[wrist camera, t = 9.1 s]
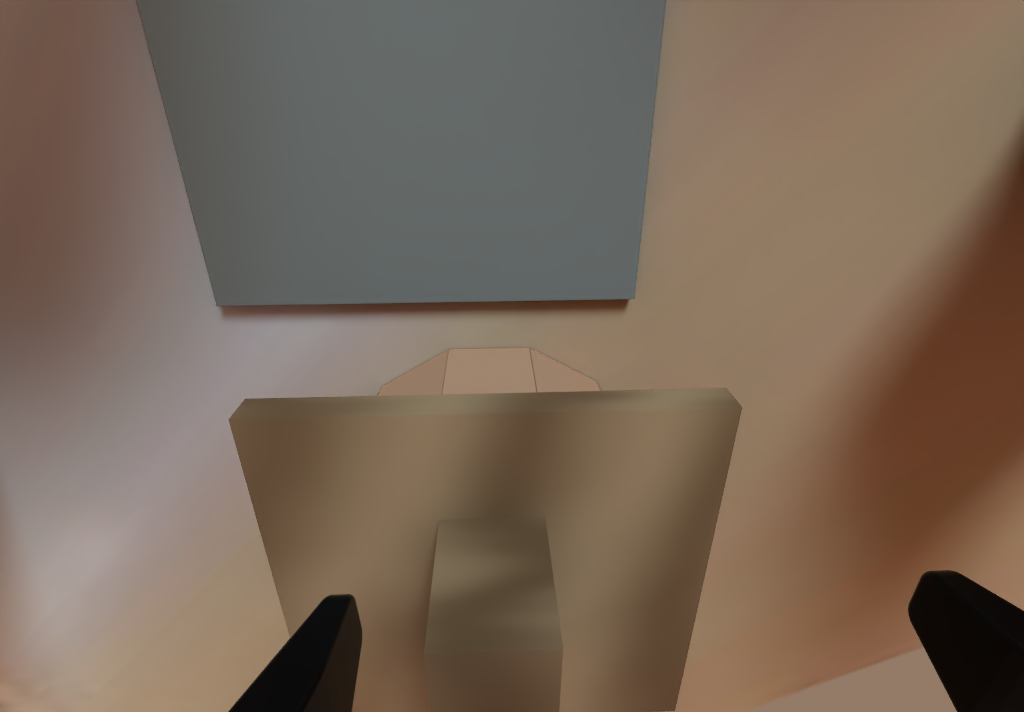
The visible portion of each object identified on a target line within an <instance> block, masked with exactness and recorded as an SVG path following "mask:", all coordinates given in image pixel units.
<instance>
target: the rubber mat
mask: <svg viewBox="0 0 1024 712" xmlns="http://www.w3.org/2000/svg"><path fill="white" fill-rule="evenodd" d="M136 3H137V6H138V10H139V14H140V18H141V21H142V25H143V29H144V33H145V37H146V40H147V44H148V48H149V52H150V55H151V59H152V63H153V67H154V71H155V74H156V78H157V82H158V86H159V89H160V93H161V97H162V101H163V105H164V108H165V112H166V116H167V120H168V123H169V127H170V131H171V135H172V138H173V142H174V146H175V150H176V154H177V157H178V161H179V165H180V169H181V172H182V176H183V180H184V184H185V188H186V191H187V195H188V199H189V203H190V206H191V210H192V214H193V218H194V222H195V225H196V229H197V233H198V237H199V240H200V244H201V248H202V252H203V256H204V259H205V263H206V267H207V271H208V274H209V278H210V282H211V286H212V290H213V293H214V297H215V301H216V305H217V306H245V305H304V304H364V303H424V302H483V301H543V300H602V299H634V298H635V289H636V279H637V270H638V260H639V251H640V241H641V232H642V222H643V213H644V203H645V194H646V184H647V175H648V165H649V156H650V146H651V137H652V127H653V118H654V108H655V99H656V89H657V80H658V70H659V61H660V51H661V41H662V32H663V22H664V13H665V3H666V0H136Z"/></svg>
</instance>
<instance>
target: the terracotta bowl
mask: <svg viewBox="0 0 1024 712" xmlns="http://www.w3.org/2000/svg"><path fill="white" fill-rule="evenodd" d="M576 391H602V390H601V388H600V387H599V385H598V383H597V382H596V381H594V380H592V379H591V378H589V377H587V376H585V375H583V374H581V373H579V372H577V371H575V370H573V369H571V368H569V367H567V366H565V365H563V364H561V363H559V362H557V361H555V360H553V359H551V358H549V357H547V356H545V355H543V354H541V353H539V352H537V351H535V350H533V349H531V348H530V349H529V348H489V349H449V350H446V351H445V352H443V353H441V354H439V355H437V356H436V357H434V358H432V359H430V360H428V361H427V362H425V363H423V364H421V365H419V366H418V367H416V368H414V369H412V370H410V371H409V372H407V373H405V374H403V375H401V376H400V377H398V378H396V379H394V380H392V381H391V382H389V383H387V384H385V385H384V386H382V387H381V389H380V391H379V393H378V395H377V396H398V395H443V394H487V393H531V392H576Z"/></svg>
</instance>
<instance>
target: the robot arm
mask: <svg viewBox="0 0 1024 712" xmlns="http://www.w3.org/2000/svg"><path fill="white" fill-rule="evenodd" d="M908 613H909V618H910V621H911V623H912V625H913V627H914V629H915V631H916V633H917V635H918V637H919V639H920V641H921V643H922V645H923V646H924V648H925V650H926V652H927V654H928V656H929V658H930V660H931V662H932V664H933V666H934V668H935V670H936V672H937V674H938V676H939V678H940V680H941V681H942V683H943V685H944V687H945V689H946V691H947V693H948V695H949V697H950V699H951V701H952V703H953V705H954V707H955V708H956V710H957V712H1024V611H1023V610H1021V609H1020V608H1018V607H1016V606H1015V605H1013V604H1011V603H1009V602H1008V601H1006V600H1004V599H1003V598H1001V597H999V596H997V595H996V594H994V593H992V592H991V591H989V590H987V589H986V588H984V587H982V586H980V585H979V584H977V583H975V582H974V581H972V580H970V579H969V578H967V577H965V576H963V575H962V574H960V573H958V572H955V571H949V570H944V571H928V572H926V573H924V574H923V575H922V576H921V578H920V580H919V583H918V585H917V587H916V589H915V592H914V594H913V596H912V598H911V600H910V603H909V606H908ZM361 646H362V626H361V622H360V617H359V613H358V609H357V604H356V600H355V598H354V596H353V595H351V594H336V595H328V596H327V597H325V598H324V599H323V600H322V601H321V602H320V603H319V605H318V606H317V607H316V608H315V609H314V611H313V612H312V613H311V614H310V615H309V616H308V618H307V619H306V620H305V621H304V622H303V624H302V625H301V626H300V627H299V628H298V630H297V631H296V632H295V633H294V634H293V635H292V637H291V638H290V639H289V640H288V641H287V643H286V644H285V645H284V646H283V647H282V649H281V650H280V651H279V652H278V653H277V654H276V656H275V657H274V658H273V659H272V660H271V662H270V663H269V664H268V665H267V666H266V668H265V669H264V670H263V671H262V672H261V673H260V675H259V676H258V677H257V678H256V679H255V681H254V682H253V683H252V684H251V685H250V687H249V688H248V689H247V690H246V691H245V692H244V694H243V695H242V696H241V697H240V698H239V700H238V701H237V702H236V703H235V704H234V706H233V707H232V708H231V709H230V710H229V711H228V712H352V707H353V700H354V693H355V687H356V680H357V673H358V667H359V660H360V653H361Z"/></svg>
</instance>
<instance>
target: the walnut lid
mask: <svg viewBox="0 0 1024 712" xmlns="http://www.w3.org/2000/svg"><path fill="white" fill-rule="evenodd" d="M741 410H742V407H741V405H740V404H739V403H738V402H737V400H736V399H735V398H734V397H733V396H732V394H731V393H730V392H729V391H728V389H727V388H709V389H665V390H620V391H576V392H531V393H487V394H443V395H398V396H354V397H310V398H265V399H245V400H244V401H243V402H242V403H241V405H240V406H239V407H238V408H237V410H236V411H235V412H234V413H233V415H232V416H231V417H230V419H229V423H230V426H231V430H232V433H233V437H234V440H235V444H236V447H237V451H238V455H239V458H240V462H241V465H242V469H243V472H244V476H245V479H246V483H247V486H248V490H249V493H250V497H251V501H252V504H253V508H254V511H255V515H256V518H257V522H258V525H259V529H260V532H261V536H262V540H263V543H264V547H265V550H266V554H267V557H268V561H269V564H270V568H271V571H272V575H273V578H274V582H275V586H276V589H277V593H278V596H279V600H280V603H281V607H282V610H283V614H284V617H285V621H286V625H287V628H288V632H289V635H290V638H291V637H292V635H293V634H294V633H295V632H296V631H297V630H298V628H299V627H300V626H301V625H302V624H303V622H304V621H305V620H306V619H307V618H308V616H309V615H310V614H311V613H312V612H313V611H314V609H315V608H316V607H317V606H318V605H319V603H320V602H321V601H322V600H323V599H324V598H325V597H327V596H328V595H336V594H351V595H353V596H354V598H355V600H356V604H357V609H358V613H359V617H360V622H361V626H362V646H361V653H360V660H359V667H358V673H357V680H356V687H355V693H354V700H353V707H352V712H657V711H675V708H676V703H677V699H678V694H679V690H680V685H681V681H682V676H683V672H684V667H685V663H686V658H687V654H688V649H689V645H690V640H691V636H692V631H693V626H694V622H695V617H696V613H697V608H698V604H699V599H700V595H701V590H702V586H703V581H704V577H705V572H706V568H707V563H708V559H709V554H710V550H711V545H712V541H713V536H714V532H715V527H716V523H717V518H718V514H719V509H720V505H721V500H722V496H723V491H724V487H725V482H726V478H727V473H728V469H729V464H730V460H731V455H732V451H733V446H734V441H735V437H736V432H737V428H738V423H739V419H740V414H741Z"/></svg>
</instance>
